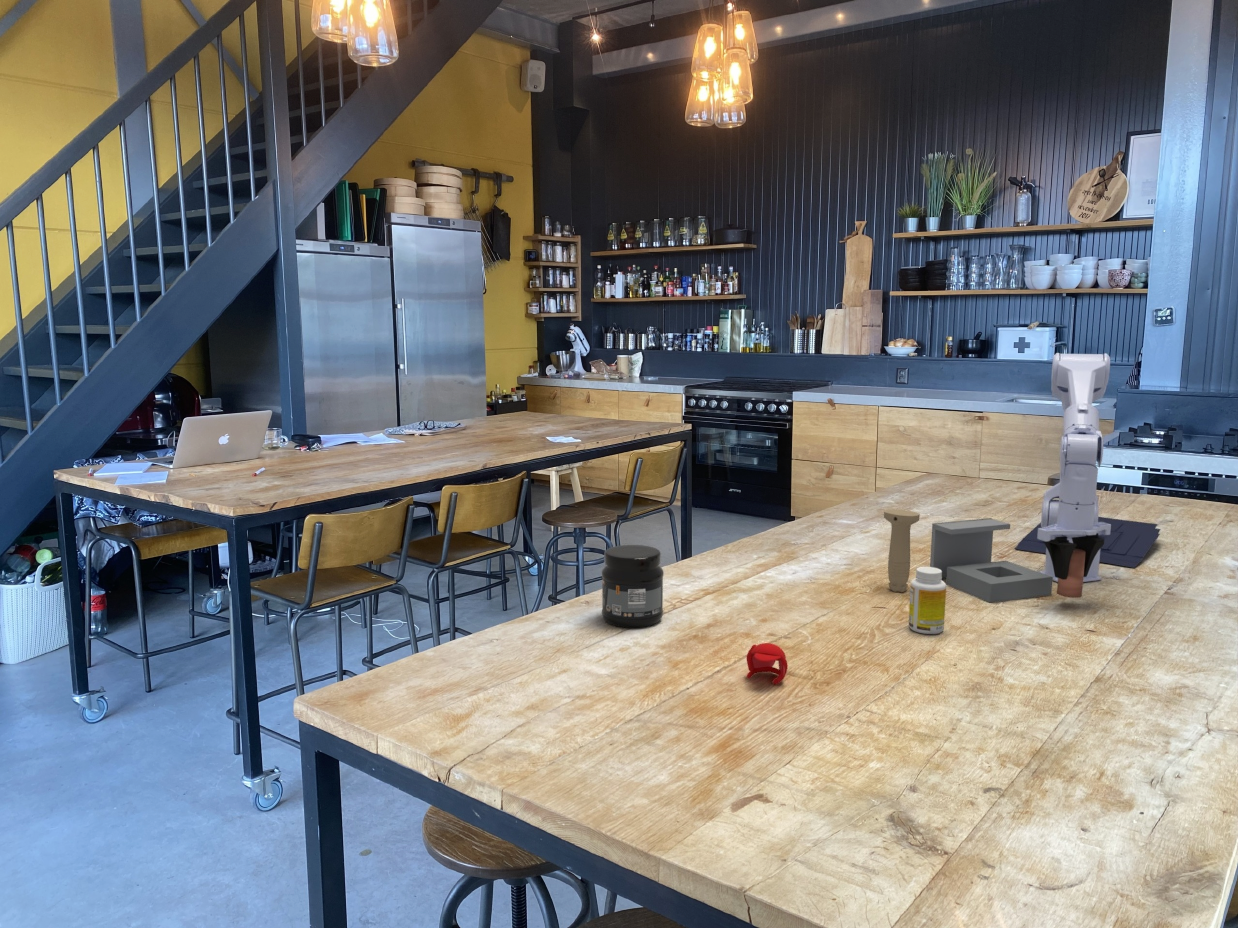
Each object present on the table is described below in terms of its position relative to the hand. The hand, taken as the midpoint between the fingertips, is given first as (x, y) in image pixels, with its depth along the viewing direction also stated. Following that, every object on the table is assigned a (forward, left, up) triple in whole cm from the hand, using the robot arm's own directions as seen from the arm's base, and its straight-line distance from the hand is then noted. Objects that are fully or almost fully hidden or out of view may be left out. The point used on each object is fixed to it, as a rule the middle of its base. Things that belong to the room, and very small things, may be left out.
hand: (1070, 576), depth 162 cm
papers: (-38, -32, -6) cm, 50 cm away
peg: (0, 0, -3) cm, 3 cm away
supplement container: (+76, -19, -6) cm, 79 cm away
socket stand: (+5, -14, -5) cm, 16 cm away
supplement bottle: (+32, +2, -6) cm, 33 cm away
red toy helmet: (+67, +12, -6) cm, 68 cm away
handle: (+23, -18, -6) cm, 30 cm away
